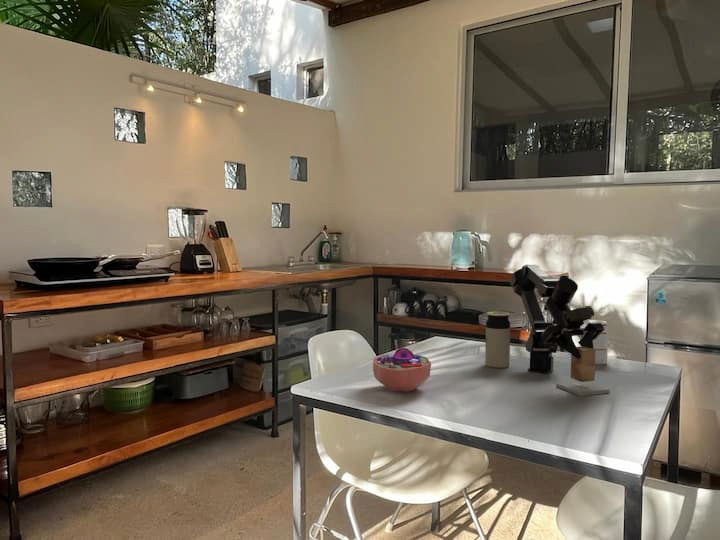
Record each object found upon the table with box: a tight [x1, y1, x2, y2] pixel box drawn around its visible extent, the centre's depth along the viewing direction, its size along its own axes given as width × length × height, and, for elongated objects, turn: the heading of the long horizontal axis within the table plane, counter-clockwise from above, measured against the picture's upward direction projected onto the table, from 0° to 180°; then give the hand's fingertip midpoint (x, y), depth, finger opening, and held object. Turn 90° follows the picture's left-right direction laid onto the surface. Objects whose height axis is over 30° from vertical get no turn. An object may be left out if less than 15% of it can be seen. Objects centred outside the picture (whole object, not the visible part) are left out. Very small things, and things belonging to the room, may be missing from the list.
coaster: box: [555, 380, 611, 397], centre depth 157 cm, size 10×10×1 cm
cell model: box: [372, 347, 432, 393], centre depth 157 cm, size 17×20×11 cm
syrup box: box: [587, 319, 609, 365], centre depth 192 cm, size 6×6×14 cm
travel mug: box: [484, 311, 511, 369], centre depth 186 cm, size 8×8×18 cm
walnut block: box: [570, 345, 596, 382], centre depth 157 cm, size 4×4×9 cm
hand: (586, 357), depth 155 cm, fingers closed on walnut block, 4 cm apart
